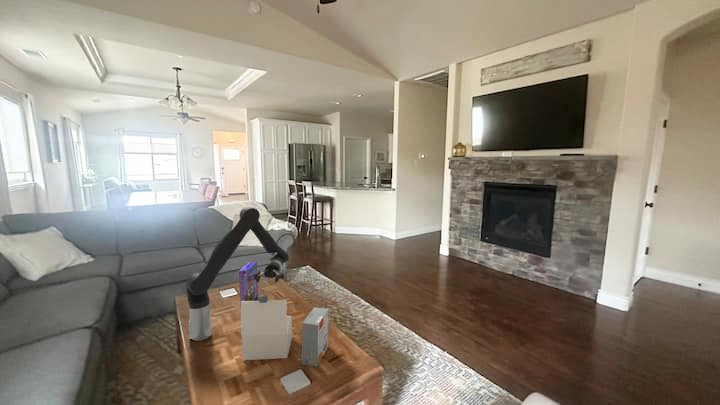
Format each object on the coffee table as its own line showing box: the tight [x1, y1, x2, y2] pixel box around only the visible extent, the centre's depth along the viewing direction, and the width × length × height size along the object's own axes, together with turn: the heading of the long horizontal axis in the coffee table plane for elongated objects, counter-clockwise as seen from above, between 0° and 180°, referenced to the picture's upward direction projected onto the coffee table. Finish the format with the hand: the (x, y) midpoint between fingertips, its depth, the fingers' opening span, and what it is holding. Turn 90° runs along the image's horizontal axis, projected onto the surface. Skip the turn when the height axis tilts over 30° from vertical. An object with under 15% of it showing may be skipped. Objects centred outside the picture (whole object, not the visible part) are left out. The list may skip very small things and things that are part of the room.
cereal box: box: [238, 260, 259, 308], centre depth 187 cm, size 17×5×24 cm, turn 179°
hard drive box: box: [301, 307, 329, 368], centre depth 135 cm, size 16×8×20 cm, turn 168°
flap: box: [240, 294, 288, 338], centre depth 129 cm, size 20×19×4 cm
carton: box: [241, 315, 293, 361], centre depth 140 cm, size 20×16×12 cm
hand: (266, 280), depth 139 cm, fingers open, 8 cm apart
